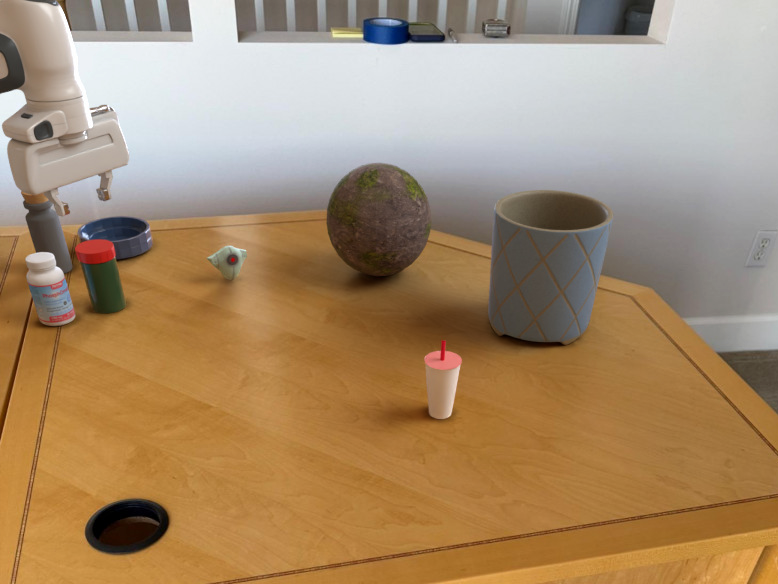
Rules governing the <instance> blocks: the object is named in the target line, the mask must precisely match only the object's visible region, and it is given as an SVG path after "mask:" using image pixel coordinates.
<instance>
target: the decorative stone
mask: <svg viewBox="0 0 778 584" xmlns="http://www.w3.org/2000/svg"><path fill="white" fill-rule="evenodd" d="M325 222H326V230H327V235H328V237H329V240H330V243H331V245H332V247H333V249H334V251H335V252H336V254H337V255H338V257H339V258H340V259H341V260H342V261H343V262H344V263H345V264H346V265H347V266H349V267H350V268H352V269H353V270H355V271H356V272H358V273H361V274H365V275H367V276H373V277H387V276H391V275H395V274H397V273H400V272H403V271H404V270H405V269H406V268H408V267H410V266H411V265H412V264H414V263H415V261H417V260H418V258H420V256H421V255H422V253H423V251H424V250H425V248H426V246H427V243H428V241H429V238H430V235H431V228H432V210H431V206H430V203H429V200H428V196H427V194H426V193H425V190H424V188H423V187H422V186H421V185H420V183H419V182H418V181H417V179H416V178H415V177H414V176H413V175H412V174H411V173H409V172H408V171H406V170H405V169H404V168H401V167H399V166H397V165H395V164H390V163H387V162H370V163H365V164H362V165H360V166H358V167H356V168H354V169H351V170H350V171H349V172H348V173H347V174H345V175H344V176H343V177H342V178H340V180H339V181H338V183H337V184H336V186H335V187H334V189H333V190H332V193H331V195H330V197H329V200H328V203H327V208H326V221H325Z"/></svg>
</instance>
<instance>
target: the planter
mask: <svg viewBox="0 0 778 584" xmlns="http://www.w3.org/2000/svg"><path fill="white" fill-rule="evenodd" d="M613 221H614V211H613V210H612V209H611V208H610V206H608V205H607V204H606V203H605V202H602V201H601V200H599V199H596V198H594V197H591V196H587V195H585V194H581V193H577V192H571V191H565V190H554V189H535V190H534V189H533V190H523V191H518V192H514V193H510V194H508V195H505V196H503V197H501V198H499V199H498V200H497V201H496V202H495V204H494V207H493V221H492V237H491V250H490V251H491V252H490V273H489V291H488V304H487V305H488V306H487V307H488V308H487V314H488V315H487V316H488V321H489V323H490V326H491V328H492V329H493V331H494V332H495V333H496V334H497V336H500V337H501V336H503V335H507V336H508V337H509V336H510V337H512V338H514V339H515V338H516V339H519V340H523V341H529V342H534V343H535V342H537V343H538V342H539V343H561V344H562V345H564V346H567V345H569V344H572V343H573V342H575V341H576V340H578V339H579V338H580V337H581V336H582V335H583V334H584V333H585V332H586V330H588V327H589V324H590V322H591V318H592V313H593V309H594V304H595V301H596V296H597V291H598V286H599V282H600V278H601V274H602V270H603V266H604V261H605V257H606V252H607V248H608V243H609V238H610V234H611V230H612V225H613Z"/></svg>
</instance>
